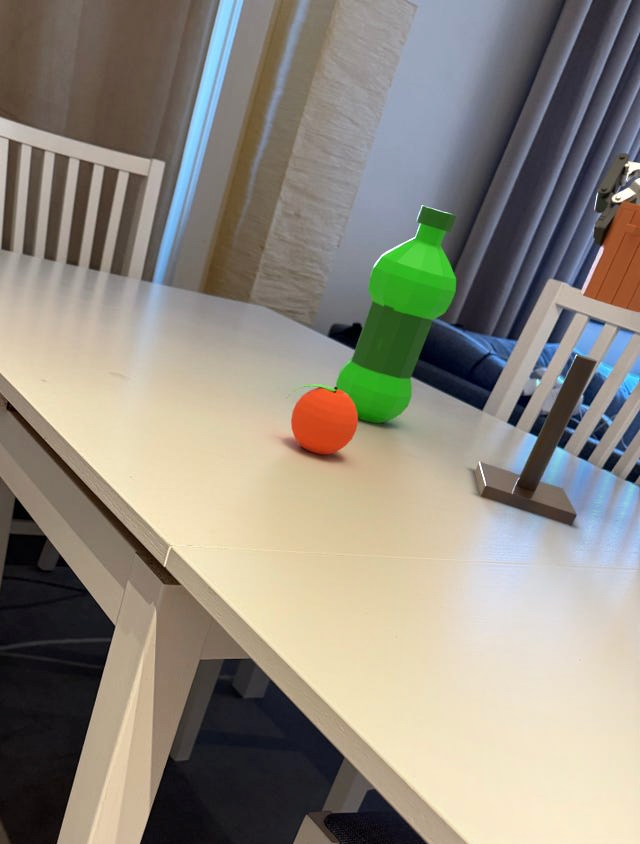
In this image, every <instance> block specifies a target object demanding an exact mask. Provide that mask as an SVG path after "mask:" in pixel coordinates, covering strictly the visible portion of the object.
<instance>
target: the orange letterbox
mask: <svg viewBox="0 0 640 844" xmlns="http://www.w3.org/2000/svg"><path fill="white" fill-rule="evenodd" d="M599 247H600V248H599V250H598V252H597V254H596V257H595V258H594V261H593V263H592V265H591V267H590V270H589V272H588V273H587V277H586V279H585V281H584V283H583V285H582V288H581V290H580V291H579V295H580V296H583V297H586V298H589V299H592V300H595V301H597V302H601V303H604V304H606V305H611V306H614V307H616V308H617V307H618V308H621V309H624V310H627V311H632V312H635V313H640V205H638V204H633V203H629V202H622V203H621V205H620V207H619V208H618V210H617V212H616V214H615V216H614V219H613V221H612V223H611V225H610V227H609V230H608V232H607V234H606V236H605V239H604V241H603V243H602V245H601V246H599Z"/></svg>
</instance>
